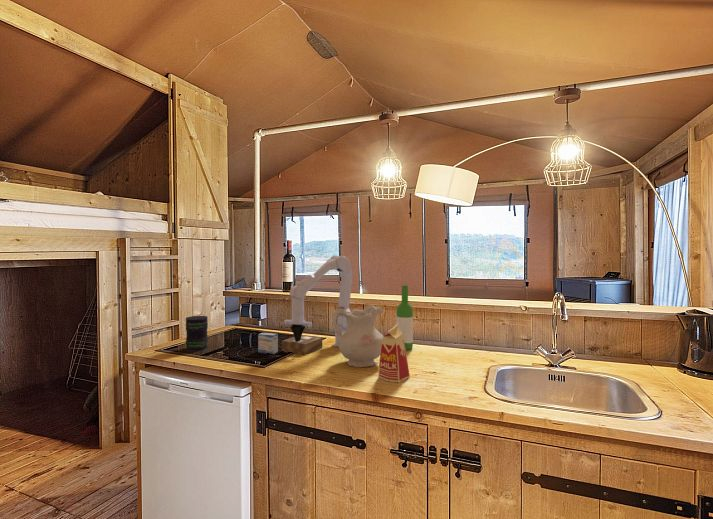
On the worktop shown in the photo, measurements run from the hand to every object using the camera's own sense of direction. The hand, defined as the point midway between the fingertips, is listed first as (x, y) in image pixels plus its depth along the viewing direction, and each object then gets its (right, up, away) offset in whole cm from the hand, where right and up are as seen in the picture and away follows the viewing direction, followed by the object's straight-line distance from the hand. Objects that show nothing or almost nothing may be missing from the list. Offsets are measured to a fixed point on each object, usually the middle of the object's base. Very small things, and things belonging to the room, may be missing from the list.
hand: (297, 341), depth 187 cm
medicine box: (-14, -5, -1) cm, 15 cm away
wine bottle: (+50, -5, +6) cm, 51 cm away
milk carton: (+41, -7, -37) cm, 55 cm away
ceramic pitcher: (+28, -6, -19) cm, 34 cm away
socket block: (+2, -5, +3) cm, 6 cm away
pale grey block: (0, -5, 0) cm, 5 cm away
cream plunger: (+3, -5, +7) cm, 9 cm away
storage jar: (-49, -5, +5) cm, 49 cm away
